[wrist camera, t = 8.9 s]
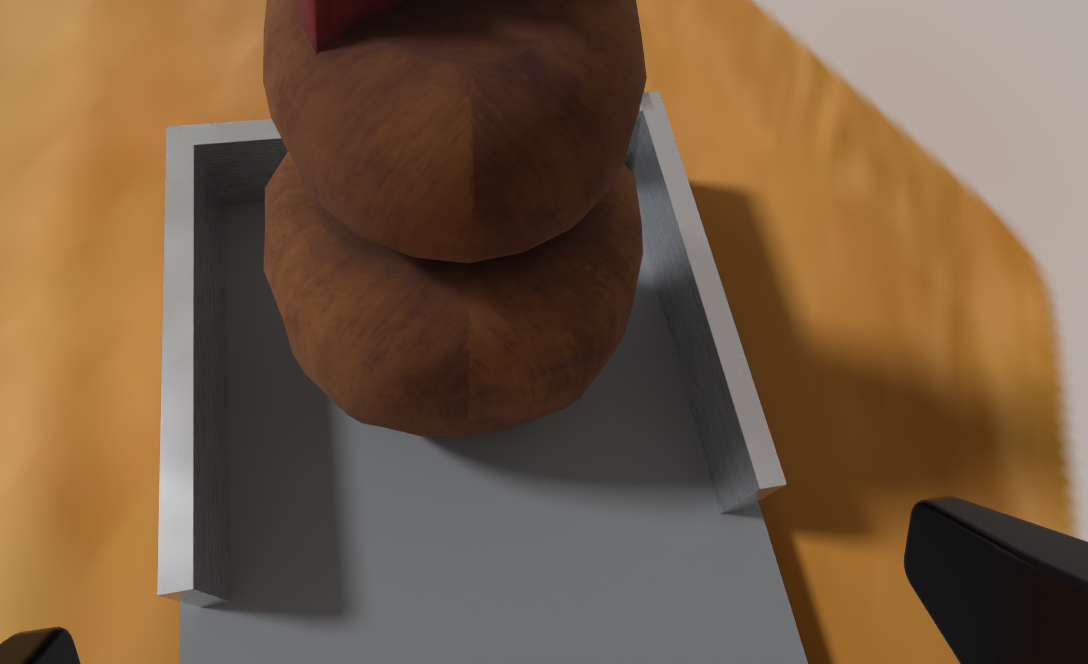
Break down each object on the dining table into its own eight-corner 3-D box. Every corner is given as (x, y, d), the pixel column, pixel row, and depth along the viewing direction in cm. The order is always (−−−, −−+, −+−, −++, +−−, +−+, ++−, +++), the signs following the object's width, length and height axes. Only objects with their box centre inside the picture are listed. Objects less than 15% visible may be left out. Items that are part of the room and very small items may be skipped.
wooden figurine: (576, 249, 20) (821, -624, 7) (606, 456, 18) (1086, -247, 4) (318, 260, 19) (-6, -738, 6) (315, 481, 17) (-259, -333, 3)
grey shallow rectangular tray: (826, 788, 16) (916, 815, 13) (196, 951, 14) (119, 1031, 11) (640, 160, 23) (669, 78, 20) (195, 200, 21) (148, 114, 18)
